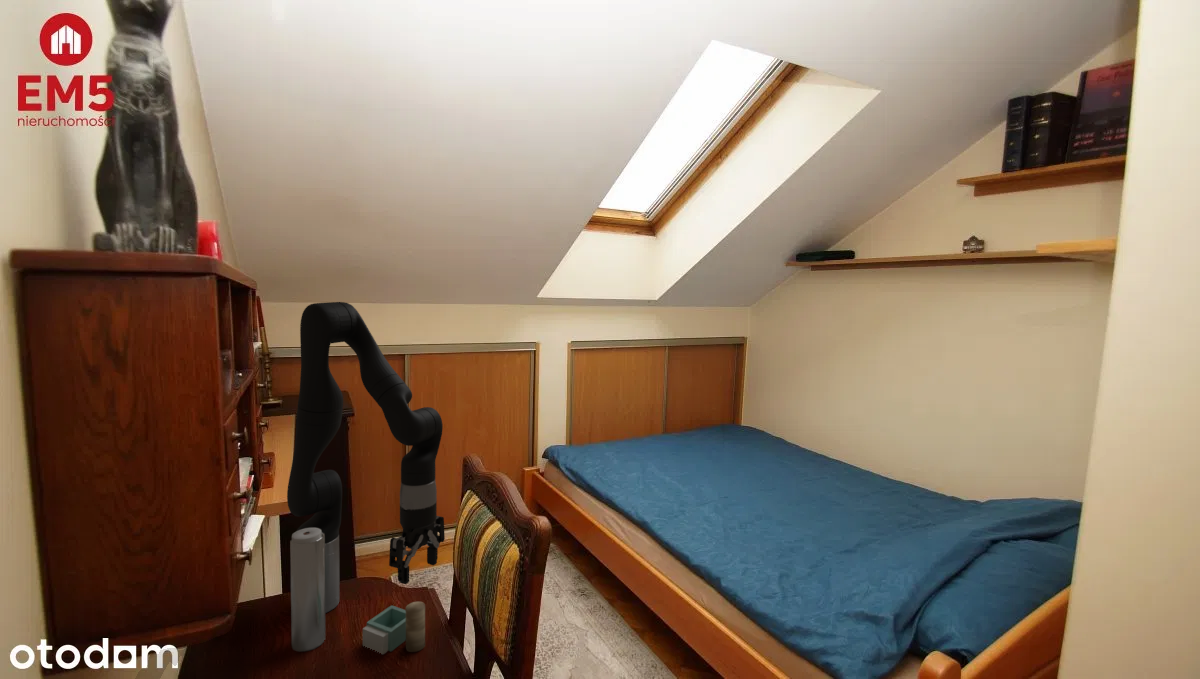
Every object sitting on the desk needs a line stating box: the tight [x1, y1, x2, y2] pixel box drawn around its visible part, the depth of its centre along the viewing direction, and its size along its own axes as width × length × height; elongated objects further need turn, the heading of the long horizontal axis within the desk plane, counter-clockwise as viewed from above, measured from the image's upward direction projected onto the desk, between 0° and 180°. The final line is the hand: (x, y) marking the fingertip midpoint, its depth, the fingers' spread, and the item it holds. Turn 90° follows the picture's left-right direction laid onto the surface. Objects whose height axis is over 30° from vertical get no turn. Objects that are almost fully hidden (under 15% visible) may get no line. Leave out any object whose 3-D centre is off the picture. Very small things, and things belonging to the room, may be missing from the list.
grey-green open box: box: [366, 604, 406, 652], centre depth 116 cm, size 7×7×4 cm
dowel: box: [405, 601, 426, 653], centre depth 113 cm, size 4×4×9 cm
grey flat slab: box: [362, 624, 389, 655], centre depth 112 cm, size 6×1×4 cm, turn 66°
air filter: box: [289, 528, 326, 653], centre depth 113 cm, size 6×6×25 cm
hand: (418, 573), depth 113 cm, fingers open, 8 cm apart
